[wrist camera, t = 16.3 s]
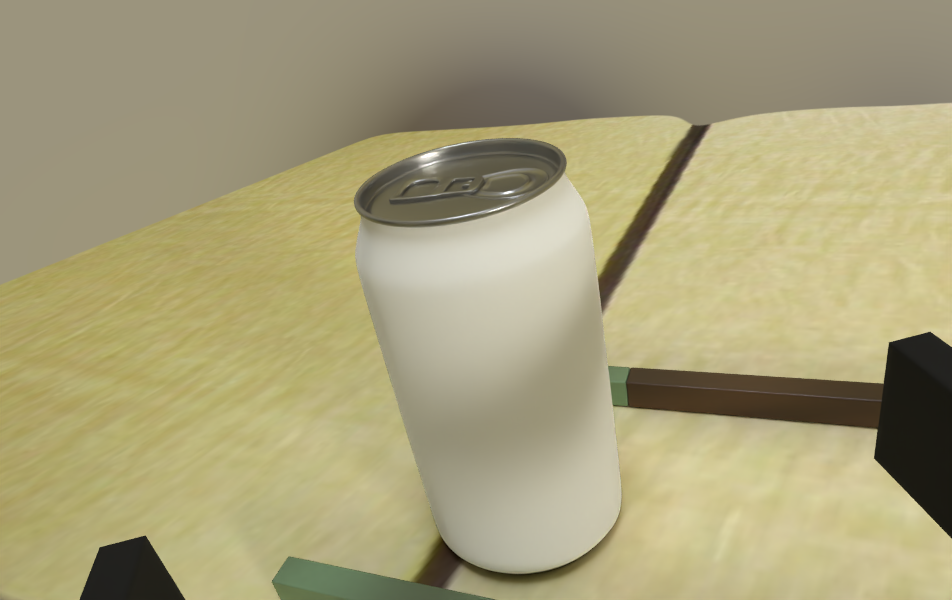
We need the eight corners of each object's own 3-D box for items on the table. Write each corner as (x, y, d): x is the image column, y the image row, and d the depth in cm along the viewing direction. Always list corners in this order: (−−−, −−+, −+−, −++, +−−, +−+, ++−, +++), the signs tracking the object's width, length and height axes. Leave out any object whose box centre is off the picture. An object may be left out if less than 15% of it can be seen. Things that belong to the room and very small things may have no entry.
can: (613, 595, 21) (559, 221, 15) (409, 572, 23) (292, 237, 17) (632, 442, 26) (598, 122, 20) (465, 435, 28) (391, 144, 22)
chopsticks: (283, 605, 23) (270, 581, 22) (431, 375, 32) (426, 353, 31) (1333, 862, 13) (1362, 832, 12) (1109, 427, 22) (1119, 398, 22)
